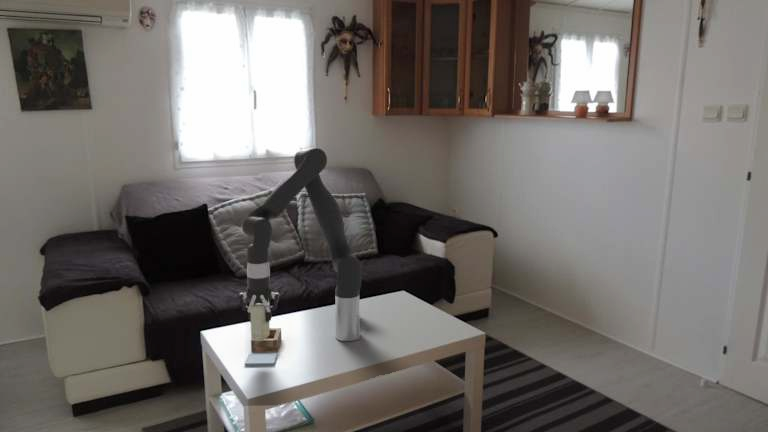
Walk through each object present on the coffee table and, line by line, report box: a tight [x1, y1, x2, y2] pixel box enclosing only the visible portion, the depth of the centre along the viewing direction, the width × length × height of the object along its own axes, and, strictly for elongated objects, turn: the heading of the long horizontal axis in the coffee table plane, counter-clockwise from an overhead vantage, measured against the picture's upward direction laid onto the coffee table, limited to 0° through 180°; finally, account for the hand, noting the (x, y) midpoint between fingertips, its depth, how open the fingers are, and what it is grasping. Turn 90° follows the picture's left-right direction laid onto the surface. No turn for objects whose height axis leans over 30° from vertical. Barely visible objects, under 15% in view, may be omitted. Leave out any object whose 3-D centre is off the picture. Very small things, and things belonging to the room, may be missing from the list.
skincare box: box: [250, 303, 270, 341], centre depth 194 cm, size 6×4×12 cm
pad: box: [244, 352, 278, 367], centre depth 196 cm, size 10×8×1 cm
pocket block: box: [250, 327, 282, 353], centre depth 209 cm, size 9×11×4 cm
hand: (259, 321), depth 194 cm, fingers closed on skincare box, 5 cm apart
